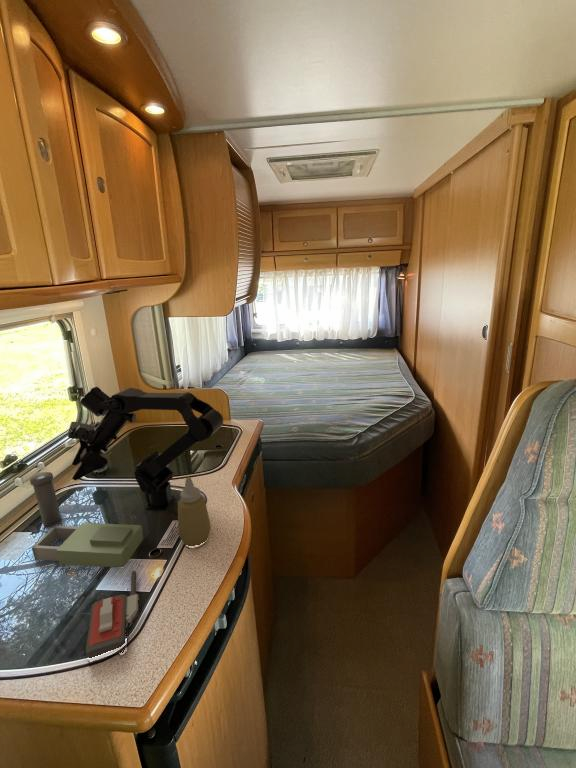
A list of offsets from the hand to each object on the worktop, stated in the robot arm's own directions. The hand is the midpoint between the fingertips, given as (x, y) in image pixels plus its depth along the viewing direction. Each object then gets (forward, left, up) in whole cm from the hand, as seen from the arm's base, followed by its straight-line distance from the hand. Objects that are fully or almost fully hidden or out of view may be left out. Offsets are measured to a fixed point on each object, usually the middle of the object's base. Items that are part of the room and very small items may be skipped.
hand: (73, 471), depth 105 cm
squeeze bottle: (-37, +9, -13) cm, 40 cm away
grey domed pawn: (+6, +4, -13) cm, 15 cm away
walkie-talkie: (-28, +31, -14) cm, 44 cm away
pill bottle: (+9, -24, -13) cm, 29 cm away
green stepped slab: (-11, +14, -13) cm, 22 cm away
